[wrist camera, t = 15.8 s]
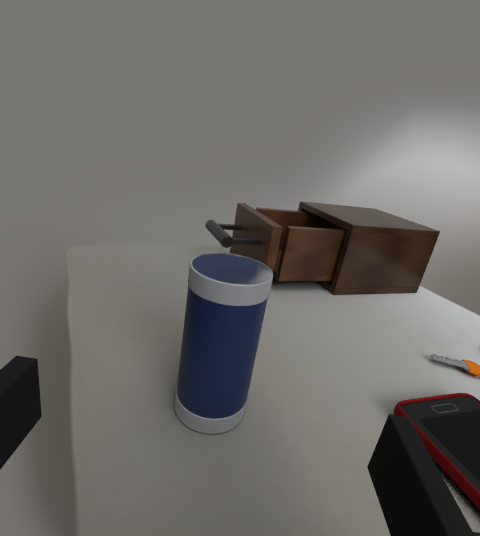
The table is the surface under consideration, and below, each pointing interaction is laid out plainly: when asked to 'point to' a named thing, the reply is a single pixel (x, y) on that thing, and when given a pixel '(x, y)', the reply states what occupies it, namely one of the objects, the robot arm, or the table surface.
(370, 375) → the table surface
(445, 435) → the cell phone
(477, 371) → the key chain
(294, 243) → the drawer
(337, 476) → the table surface
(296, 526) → the table surface
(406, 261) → the cabinet
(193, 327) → the blue cylindrical container
